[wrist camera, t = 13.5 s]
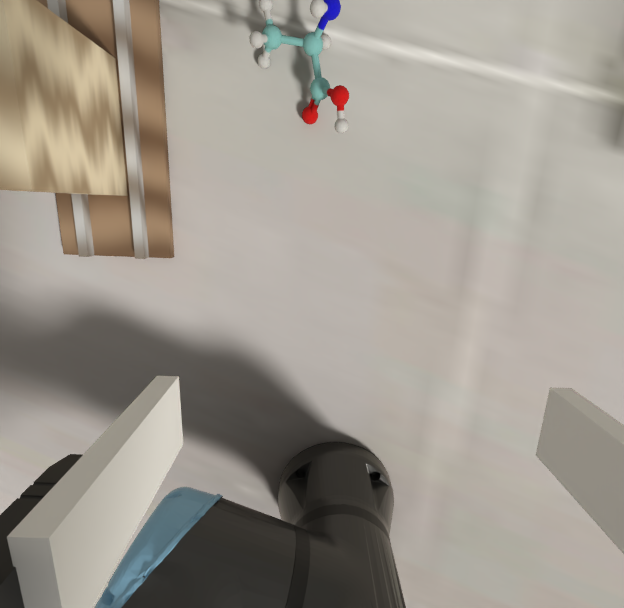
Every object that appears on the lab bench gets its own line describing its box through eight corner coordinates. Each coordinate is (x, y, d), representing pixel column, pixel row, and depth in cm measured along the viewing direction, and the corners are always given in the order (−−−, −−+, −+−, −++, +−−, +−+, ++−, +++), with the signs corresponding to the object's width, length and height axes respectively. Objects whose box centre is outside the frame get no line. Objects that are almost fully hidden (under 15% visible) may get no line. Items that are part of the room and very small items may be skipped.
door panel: (127, 195, 40) (31, 190, 26) (95, 194, 40) (-18, 188, 26) (115, 58, 37) (-1, -28, 23) (80, 57, 37) (-58, -30, 23)
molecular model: (211, 85, 35) (248, 1, 26) (254, 15, 38) (301, -83, 29) (310, 162, 40) (370, 113, 31) (342, 95, 42) (406, 32, 33)
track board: (174, 256, 43) (166, 259, 41) (69, 253, 43) (56, 255, 41) (158, -12, 36) (148, -26, 34) (34, -16, 36) (16, -30, 34)
